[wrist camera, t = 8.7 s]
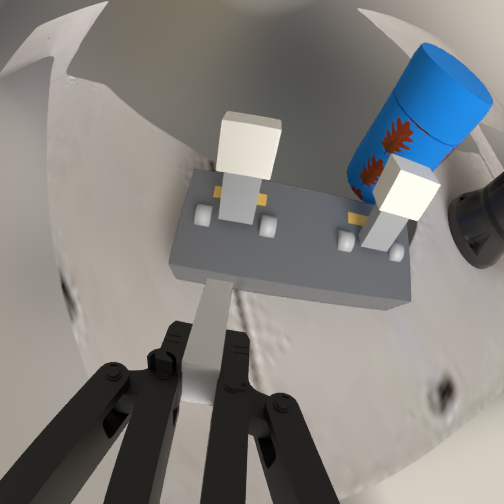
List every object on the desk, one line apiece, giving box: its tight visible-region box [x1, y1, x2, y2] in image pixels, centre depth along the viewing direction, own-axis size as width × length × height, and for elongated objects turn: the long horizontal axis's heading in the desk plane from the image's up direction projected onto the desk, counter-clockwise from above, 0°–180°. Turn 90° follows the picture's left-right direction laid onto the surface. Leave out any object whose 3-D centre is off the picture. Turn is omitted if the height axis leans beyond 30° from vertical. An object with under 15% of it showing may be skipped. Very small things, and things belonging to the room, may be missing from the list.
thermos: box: [347, 43, 493, 205], centre depth 31 cm, size 11×11×25 cm
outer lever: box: [216, 111, 282, 225], centre depth 27 cm, size 5×3×11 cm, turn 82°
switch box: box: [169, 169, 411, 310], centre depth 33 cm, size 28×12×7 cm, turn 82°
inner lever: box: [358, 153, 441, 252], centre depth 27 cm, size 5×3×11 cm, turn 81°
